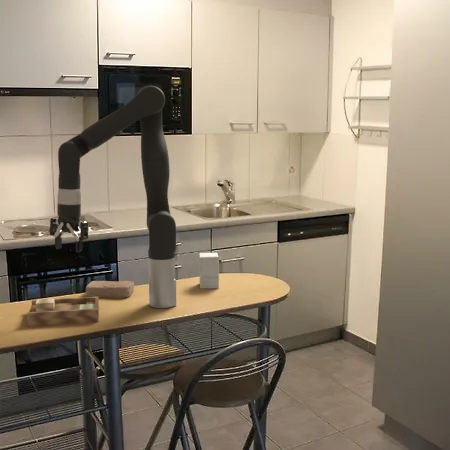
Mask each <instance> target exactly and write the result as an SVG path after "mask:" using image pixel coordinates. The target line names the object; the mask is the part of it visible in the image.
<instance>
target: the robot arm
mask: <svg viewBox="0 0 450 450" xmlns="http://www.w3.org/2000/svg"><path fill="white" fill-rule="evenodd" d="M165 104H166V97H165V93H164V91H162V90H161V88H159V87H157V86H154V85H146V86H144V87H142V88H140V89H139V91H138V92H137V94H136V95H135V96H134V97H133V98H131V100H130V101H129V102H127V103H126V104H125V105H123V106H122V107H120V108H119V109H117V110H115V111H113V112H111V113H110V114H108V115H106V116H104V117H103V118H101V119H99V120H98V121H95V122H94V123H93V124H91V125H90V126H87V128H85V129H84V130H83V131H81V132H80V133H79V134H77V135H75V136H73V137H72V138H70V139H68V140H66V141H65V142H63V143H61V145H60V146H59V148H58V151H57V153H58V154H57V159H58V160H57V161H58V183H57V186H58V191H57V200H56V201H57V203H56V204H57V208H56V209H57V211H56V213H57V216H58V217H57V216H56V217H51V218H50V219H49V220H50V223H49V236H52V237H53V238H54V247H55V250H60V249H62V248H63V247H62V245H63V238H62V236H63V234H64V233H68V234H71V235H72V236H73V237H74V238H75V240H76V241H75V252H76V253H81V252H82V251H83V249H84V248H83V247H84V246H83V245H84V241H85V240H88V239H89V223H88V221H81V219H80V218H81V214H82V213H81V210H82V192H81V174H80V171H81V170H80V167H81V158H82V157H83V156H85V155H87V154H88V153H89V152H91V151H92V150H95V149H97V148H99V147H100V146H102V145H103V144H105V143H107V142H108V141H110V140H111V139H112V138H114V137H116V135H118V134H120V133H121V132H122V131H124V130H125V129H126V128H128V127H129V126H131V125H133V124H134V123H137V122H138V121H139V122H140V158H141V170H142V176H143V184H144V190H145V196H146V228H147V230H148V239H149V240H148V242H149V243H148V244H149V245H148V251H147V252H148V253H147V255H148V260H147V261H148V297H149V298H148V301H149V306H150V307H152V308H155V309H167V308H168V309H169V308H172V307H177V279H176V249H177V225H176V221H175V218H174V217H173V216H172V215H171V211H170V205H169V204H170V203H169V197H168V196H169V195H168V193H169V192H168V190H169V182H170V172H171V171H170V170H171V169H170V158H169V152H168V151H169V150H168V146H167V141H166V137H165V134H164V129H163V128H164V127H163V108H164V107H165Z"/></svg>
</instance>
